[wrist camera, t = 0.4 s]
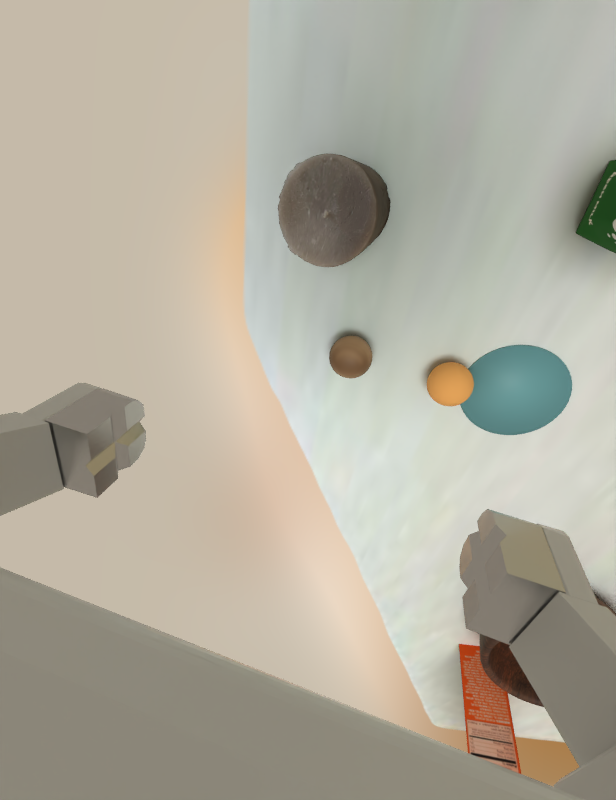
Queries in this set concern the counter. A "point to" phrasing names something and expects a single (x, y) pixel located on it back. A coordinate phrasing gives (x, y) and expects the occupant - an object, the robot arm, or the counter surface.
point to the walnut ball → (350, 356)
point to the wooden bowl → (509, 668)
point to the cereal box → (486, 713)
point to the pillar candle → (332, 209)
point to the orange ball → (450, 384)
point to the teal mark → (517, 390)
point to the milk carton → (602, 212)
